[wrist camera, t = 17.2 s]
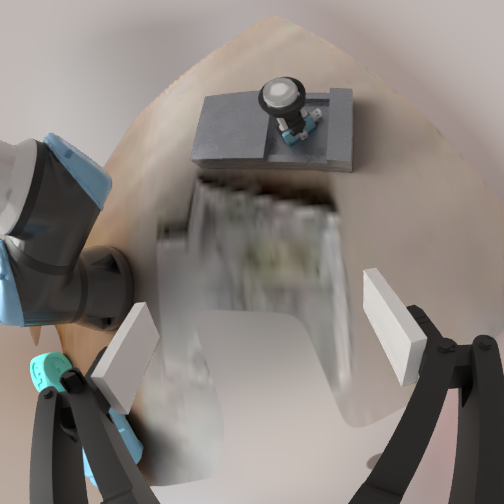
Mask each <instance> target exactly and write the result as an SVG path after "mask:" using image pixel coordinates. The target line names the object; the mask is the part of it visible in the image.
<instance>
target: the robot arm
mask: <svg viewBox="0 0 504 504" xmlns="http://www.w3.org/2000/svg"><path fill="white" fill-rule="evenodd" d="M43 141H44V142H43V143H42V142H39V141H36V140H34V139H31V138H28V139H26V140H25V141H23V142H21V143H19V144H17V145H11V144H8V143H6V142H3V141H0V233H1V234H2V235H6V237H5V239H4V240H2V239H0V323H2V324H3V325H8V326H9V325H10V326H20V327H27V326H42V325H55V324H67V323H75V324H78V325H81V326H84V327H87V328H90V329H94V330H97V331H107V330H113V329H116V328H118V327H119V326H120V328H119V330H118V331H117V333H116V335H115V336H114V338H113V339H112V341H111V343H110V344H109V346H108V347H104V348H103V349H102V350H101V351H100V352H99V354H98V355H97V357H96V360H94V362H93V365H91V367H90V368H89V370H88V372H87V374H86V375H85V377H84V376H83V375H82V373H81V372H80V370H79V369H77V368H71V369H68V370H67V371H65V372H64V373H63V374H62V375H61V377H60V379H59V382H60V383H61V385H62V386H63V387H64V389H65V390H66V391H64V392H58V390H57V389H56V388H55V387H54V386H48V387H46V388H44V389H43V390H42V391H41V392H40V394H39V396H38V402H37V408H36V414H35V421H34V429H33V438H32V448H31V462H30V504H88V498H87V490H86V482H85V473H84V461H83V449H84V452H85V455H86V458H87V461H88V464H89V466H90V469H91V471H92V474H93V476H94V479H95V481H96V484H97V486H98V489H99V491H100V493H101V495H102V498H103V502H101V503H100V504H160V503H159V501H158V500H157V498H156V496H155V495H154V493H153V492H152V490H151V489H150V487H149V485H148V484H147V482H146V480H145V479H144V477H143V475H142V474H141V472H140V470H139V469H138V467H137V465H136V463H135V461H134V460H133V458H132V456H131V454H130V452H129V450H128V448H127V446H126V444H125V443H124V441H123V439H122V437H121V434H120V432H119V430H118V428H117V426H116V424H115V422H114V420H113V417H112V415H111V414H110V413H109V410H110V408H111V407H112V408H113V410H114V411H115V412H116V413H117V414H127V415H128V414H129V412H130V409H131V407H132V404H133V401H134V399H135V396H136V394H137V391H138V389H139V386H140V384H141V381H142V379H143V376H144V374H145V371H146V369H147V367H148V364H149V362H150V359H151V357H152V355H153V352H154V350H155V348H156V345H157V343H158V341H159V338H160V336H159V333H158V331H157V329H156V326H155V324H154V322H153V319H152V317H151V314H150V312H149V309H148V307H147V304H146V302H142V303H135V304H134V306H133V307H132V309H131V306H132V302H133V293H134V286H133V277H132V273H131V269H130V267H129V264H128V262H127V260H126V259H125V257H124V256H123V255H122V253H121V252H119V251H118V250H117V249H115V248H112V247H108V246H93V247H90V248H86V249H83V247H84V245H85V243H86V240H87V238H88V236H89V234H90V232H91V230H92V227H93V225H94V223H95V221H96V219H97V217H98V215H99V213H100V211H102V210H103V208H104V206H103V205H104V203H105V201H106V199H107V197H108V195H109V193H110V190H111V188H112V179H111V176H110V175H109V173H108V172H107V171H106V170H104V169H103V168H102V167H101V166H100V165H98V164H97V163H96V162H95V161H93V160H92V159H91V158H89V157H88V156H87V155H85V154H84V153H83V152H81V151H80V150H78V149H77V148H76V147H74V146H73V145H71V144H70V143H68V142H67V141H65V140H64V139H62V138H61V137H59V136H57V135H55V134H54V133H49V134H48V135H47V136H46V137H44V139H43ZM363 274H364V295H363V310H364V311H365V313H366V315H367V317H368V319H369V321H370V323H371V325H372V327H373V329H374V331H375V333H376V335H377V337H378V339H379V341H380V343H381V345H382V347H383V349H384V351H385V353H386V355H387V357H388V359H389V361H390V363H391V365H392V367H393V369H394V371H395V374H396V376H397V378H398V380H399V382H400V384H401V386H406V385H409V384H412V383H415V382H416V381H417V377H418V374H419V376H420V377H419V380H418V382H417V385H416V387H415V389H414V392H413V394H412V396H411V398H410V401H409V403H408V405H407V407H406V410H405V412H404V414H403V416H402V418H401V420H400V422H399V424H398V426H397V428H396V430H395V432H394V434H393V436H392V437H391V439H390V441H389V443H388V445H387V446H386V448H385V450H384V452H383V454H382V455H381V457H380V459H379V460H378V462H377V464H376V465H375V467H374V469H373V470H372V472H371V473H370V475H369V477H368V478H367V480H366V481H365V482H364V483H363V484H362V485H361V487H360V488H359V489H358V491H357V492H356V493H355V495H354V496H353V498H352V499H351V501H350V502H349V503H348V504H400V502H401V500H402V498H403V495H404V493H405V491H406V489H407V487H408V485H409V483H410V481H411V479H412V478H413V476H414V474H415V472H416V469H417V467H418V465H419V463H420V461H421V459H422V457H423V455H424V452H425V450H426V448H427V446H428V443H429V441H430V438H431V436H432V433H433V431H434V428H435V426H436V423H437V420H438V418H439V415H440V412H441V409H442V406H443V403H444V400H445V397H446V394H447V391H448V389H453V388H458V389H459V390H458V391H459V392H458V394H459V406H458V411H459V412H458V434H457V448H456V458H455V467H454V474H453V480H452V487H451V492H450V498H449V503H448V504H504V375H503V369H502V364H501V359H500V354H499V349H498V345H497V342H496V340H495V339H494V338H492V337H490V336H488V335H479V336H477V337H475V339H474V340H473V343H472V344H471V345H457V343H456V342H455V341H453V340H452V339H449V338H443V336H442V335H441V334H440V332H439V331H438V329H437V328H436V327H435V325H434V324H433V323H432V322H431V321H430V319H429V318H428V317H427V315H426V314H425V312H424V311H423V310H422V309H421V308H419V307H417V306H416V305H412V306H408V307H405V306H404V304H403V303H402V302H401V300H400V299H399V298H398V296H397V295H396V293H395V292H394V291H393V289H392V288H391V287H390V286H389V284H388V283H387V282H386V280H385V279H384V278H383V276H382V275H381V274H380V273H379V271H378V270H377V269H376V267H375V268H370V269H365V270H363ZM130 310H131V311H130Z"/></svg>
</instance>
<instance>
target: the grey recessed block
mask: <svg viewBox="0 0 504 504" xmlns="http://www.w3.org/2000/svg"><path fill="white" fill-rule="evenodd" d="M259 92H260V91H249V92H239V93H230V94H222V95H215V96H208V97H205V100H204V104H203V108H202V111H201V115H200V119H199V123H198V127H197V131H196V136H195V140H194V144H193V148H192V153H191V157H190V160H191V161H193V162H194V163H195V164H197V165H198V166H200V167H201V168H275V169H303V170H322V171H337V172H350V173H352V161H353V129H354V102H353V93H352V89H340V88H330V93H306V100H305V105H304V107H303V108H304V109H305V110H306V111H307V112H308V113H310V112H313V111H315V110H316V109H319V110H320V111H321V114H322V117H320V118H319V119H317V121H316V122H315V125H316V126H315V128H313V129H312V130H310V131H309V132H308V133H307V134H308V137H307V138H305V139H304V140H301V138H299V139H297V140H296V141H295V142H293V143H292V144H291V145H288V144H287V143H286V142H285V141H284V139H283V138H282V137H281V136H280V135H279V133H278V131H277V130H276V128H275V127H276V125H278V124H279V122H278V120H277V118H274V117H272V116H270V115H269V114H268V113H266V112H265V111H264V110H263V109H262V108H261V106H260V105H259V102H258V95H259ZM298 95H299V96H300V93H298ZM267 106H268V107H269V108H270V106H269V105H268V104H267ZM316 113H318V111H316ZM319 116H320V115H317V117H319ZM305 136H306V135H305ZM305 136H303V138H304V137H305Z"/></svg>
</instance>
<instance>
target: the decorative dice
mask: <svg viewBox="0 0 504 504" xmlns="http://www.w3.org/2000/svg"><path fill="white" fill-rule="evenodd" d="M71 368H72V365H71V363H70V362H69V360H68V359H67V358H66V357H65V356H64V355H63V354H61V353H59V352H51V353H46V354H42V355H40V356H37V357H35V358H33V359H32V361H31V364H30V371H31V377H32V380H33V383H34V385H35V387H36V389H37V390H38V391H39V389H38V388H39V387H40V388H41V389H42V390H43V389H44V388H46V387H48V386H54V387H55V388H56V389H57V390H58V392H64V391H66V390H65V389H64V387H63V386H62V385H61V383H60V382H59V379H60V377H61V375H62V374H63V373H64V372H65V371H67V370H68V369H71Z"/></svg>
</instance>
